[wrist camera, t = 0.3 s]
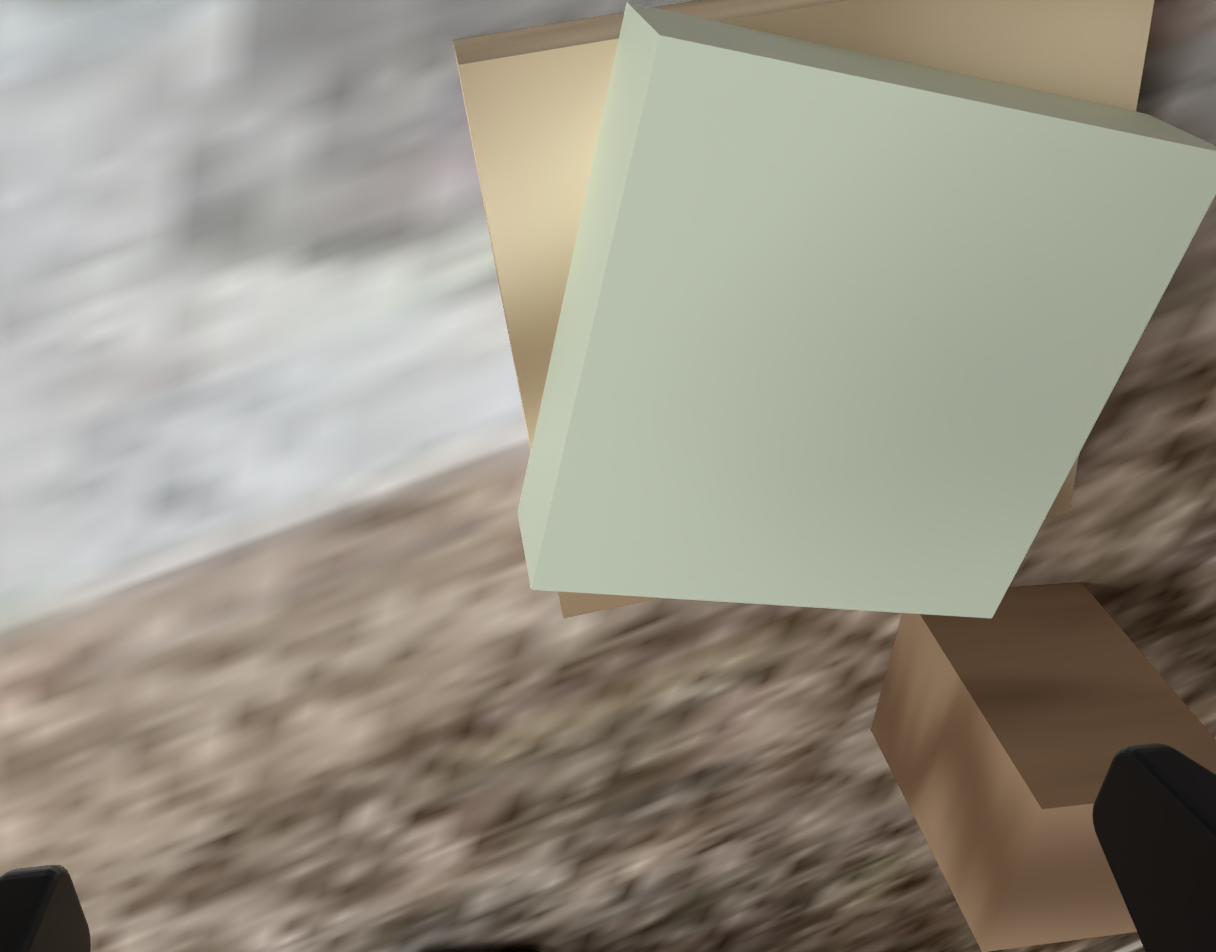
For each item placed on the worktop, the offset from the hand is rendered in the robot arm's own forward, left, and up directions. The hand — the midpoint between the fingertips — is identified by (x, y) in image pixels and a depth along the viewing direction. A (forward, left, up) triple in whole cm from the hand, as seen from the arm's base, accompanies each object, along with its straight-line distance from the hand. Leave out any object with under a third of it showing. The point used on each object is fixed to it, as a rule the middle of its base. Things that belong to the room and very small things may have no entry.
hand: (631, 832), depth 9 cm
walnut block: (-12, -13, -14) cm, 23 cm away
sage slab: (-1, -6, -12) cm, 14 cm away
